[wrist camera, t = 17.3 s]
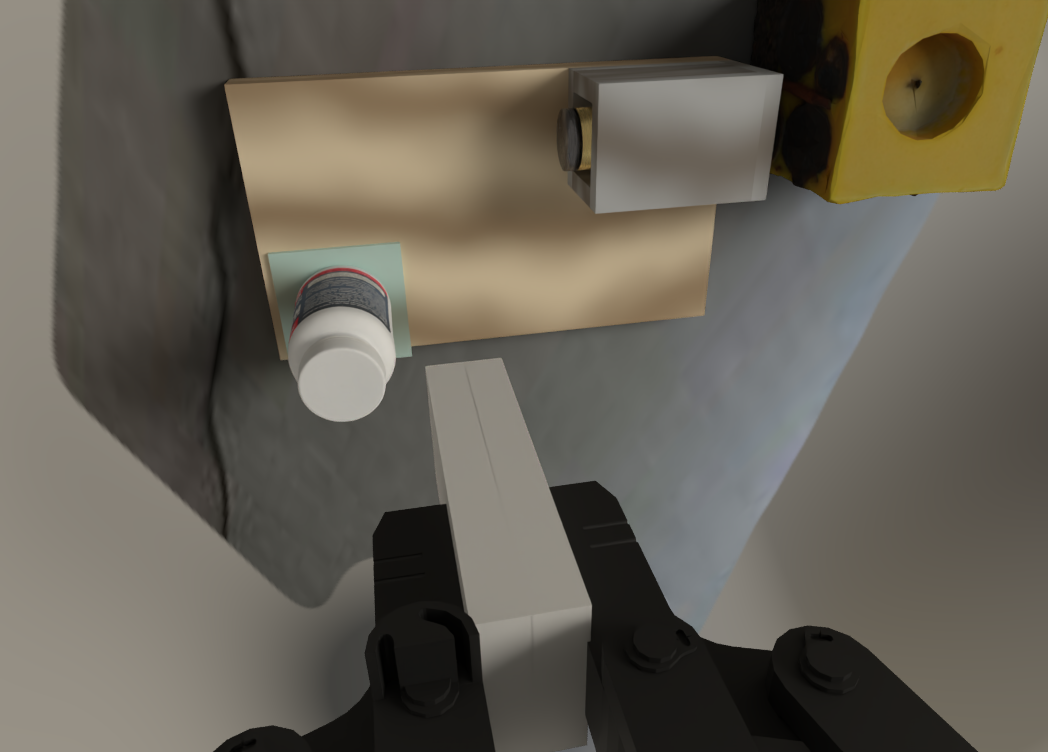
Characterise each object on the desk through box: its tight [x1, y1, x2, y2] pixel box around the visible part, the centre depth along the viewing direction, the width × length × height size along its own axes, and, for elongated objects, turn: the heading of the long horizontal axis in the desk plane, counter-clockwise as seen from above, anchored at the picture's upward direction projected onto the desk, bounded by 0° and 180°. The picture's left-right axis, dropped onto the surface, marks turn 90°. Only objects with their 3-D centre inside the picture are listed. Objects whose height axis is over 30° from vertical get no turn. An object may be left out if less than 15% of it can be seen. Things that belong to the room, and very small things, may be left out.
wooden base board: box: [224, 56, 783, 360], centre depth 40 cm, size 16×26×8 cm, turn 91°
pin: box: [556, 107, 592, 171], centre depth 38 cm, size 3×8×3 cm, turn 91°
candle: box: [751, 0, 1048, 204], centre depth 39 cm, size 10×10×10 cm
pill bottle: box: [288, 266, 396, 422], centre depth 38 cm, size 5×5×9 cm
